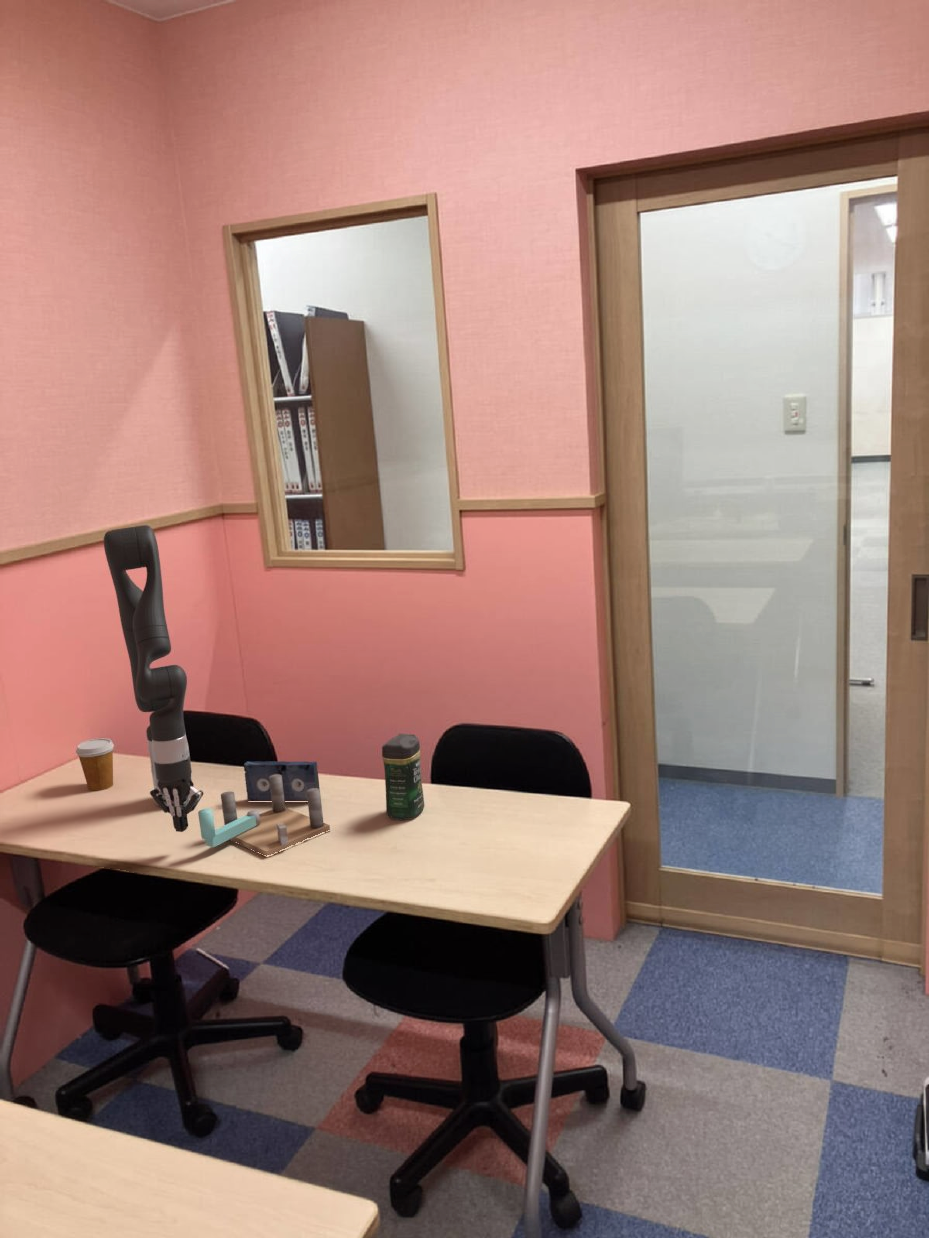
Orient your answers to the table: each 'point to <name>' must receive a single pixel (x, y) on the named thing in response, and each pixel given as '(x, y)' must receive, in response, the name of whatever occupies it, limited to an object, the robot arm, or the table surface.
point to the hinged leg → (225, 827)
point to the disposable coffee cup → (97, 763)
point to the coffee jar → (403, 777)
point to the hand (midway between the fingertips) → (181, 830)
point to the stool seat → (278, 821)
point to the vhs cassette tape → (293, 778)
